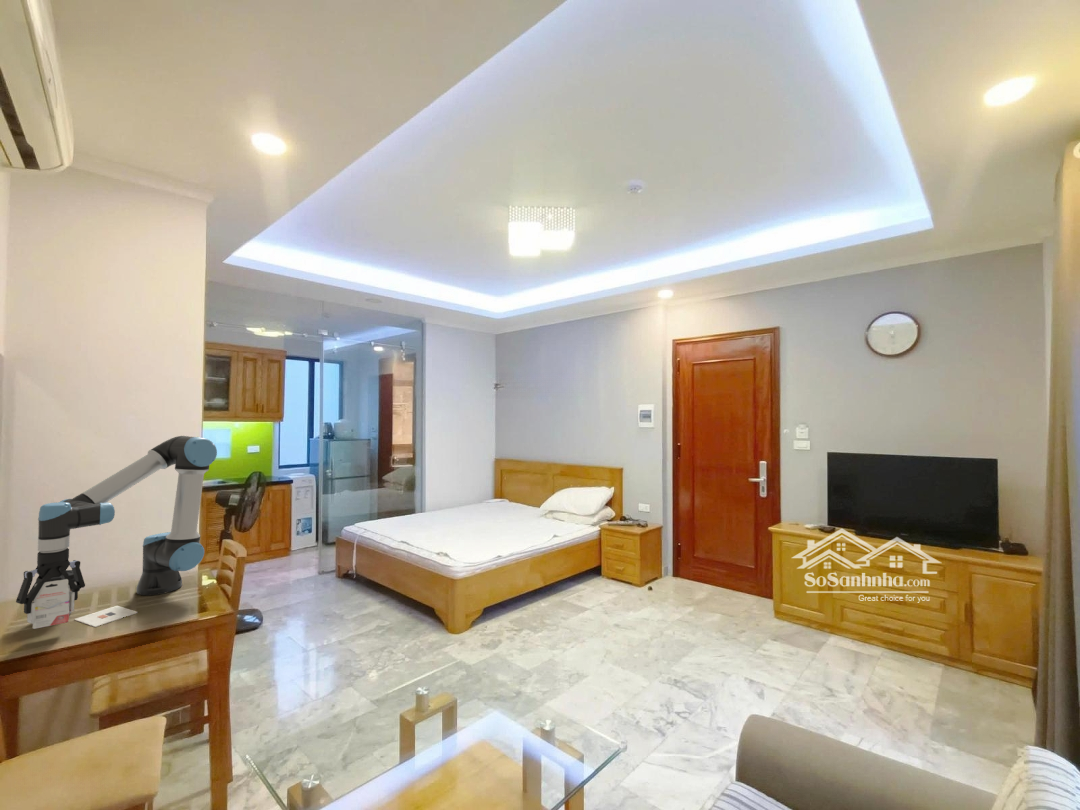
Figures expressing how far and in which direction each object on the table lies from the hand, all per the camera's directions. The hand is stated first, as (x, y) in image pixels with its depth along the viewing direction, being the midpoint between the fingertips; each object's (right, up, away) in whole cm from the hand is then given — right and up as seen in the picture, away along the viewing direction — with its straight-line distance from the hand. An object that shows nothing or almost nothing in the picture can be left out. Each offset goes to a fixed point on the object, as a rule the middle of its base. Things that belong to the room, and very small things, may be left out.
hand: (51, 616), depth 163 cm
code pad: (+5, -7, +15) cm, 17 cm away
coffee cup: (-13, -6, +15) cm, 21 cm away
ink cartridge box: (0, -3, 0) cm, 3 cm away
